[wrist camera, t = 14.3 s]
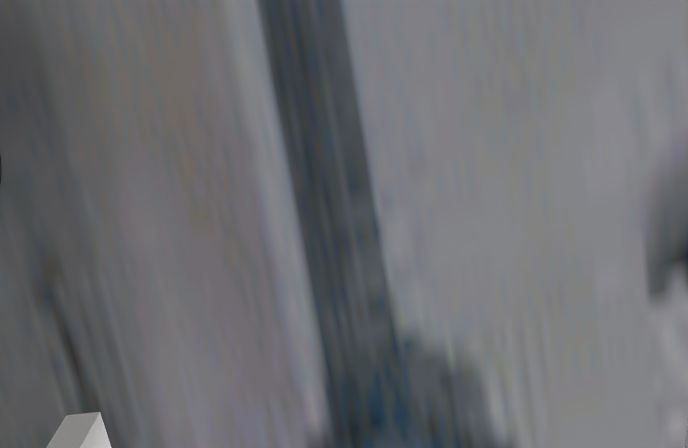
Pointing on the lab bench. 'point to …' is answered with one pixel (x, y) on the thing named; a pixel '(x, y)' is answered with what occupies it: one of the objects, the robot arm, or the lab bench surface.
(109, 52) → the lab bench surface
